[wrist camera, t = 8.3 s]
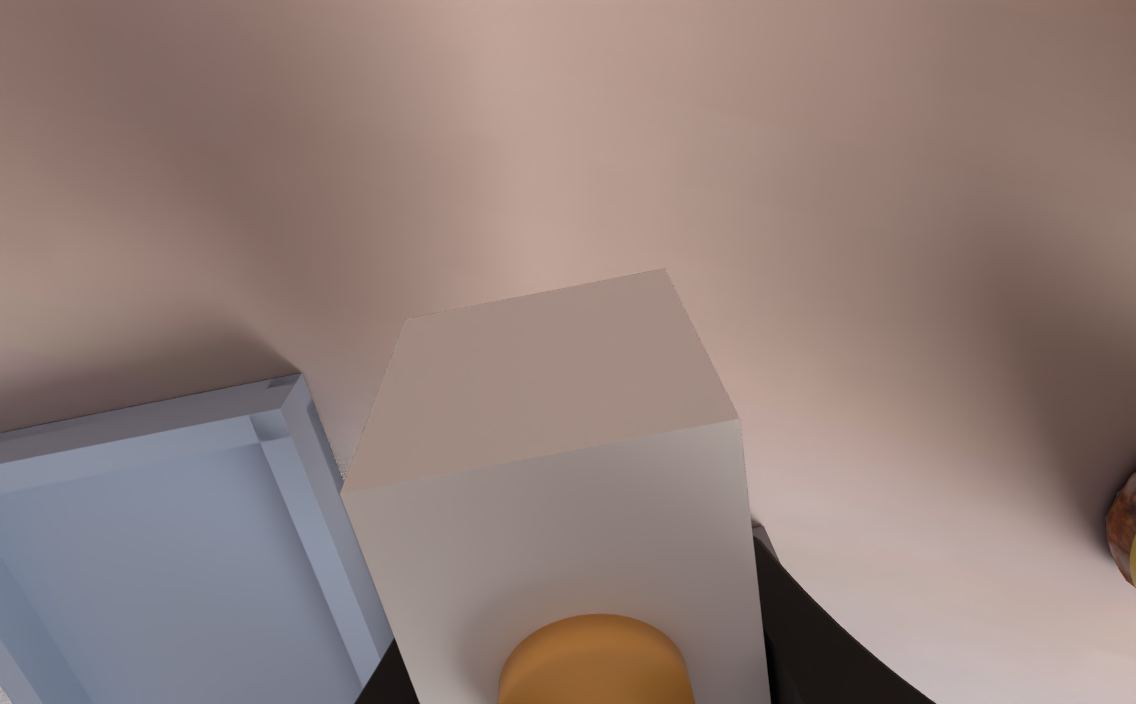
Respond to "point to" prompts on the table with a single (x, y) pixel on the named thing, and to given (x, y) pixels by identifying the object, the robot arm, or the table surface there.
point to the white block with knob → (561, 505)
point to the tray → (184, 557)
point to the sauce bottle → (1124, 530)
